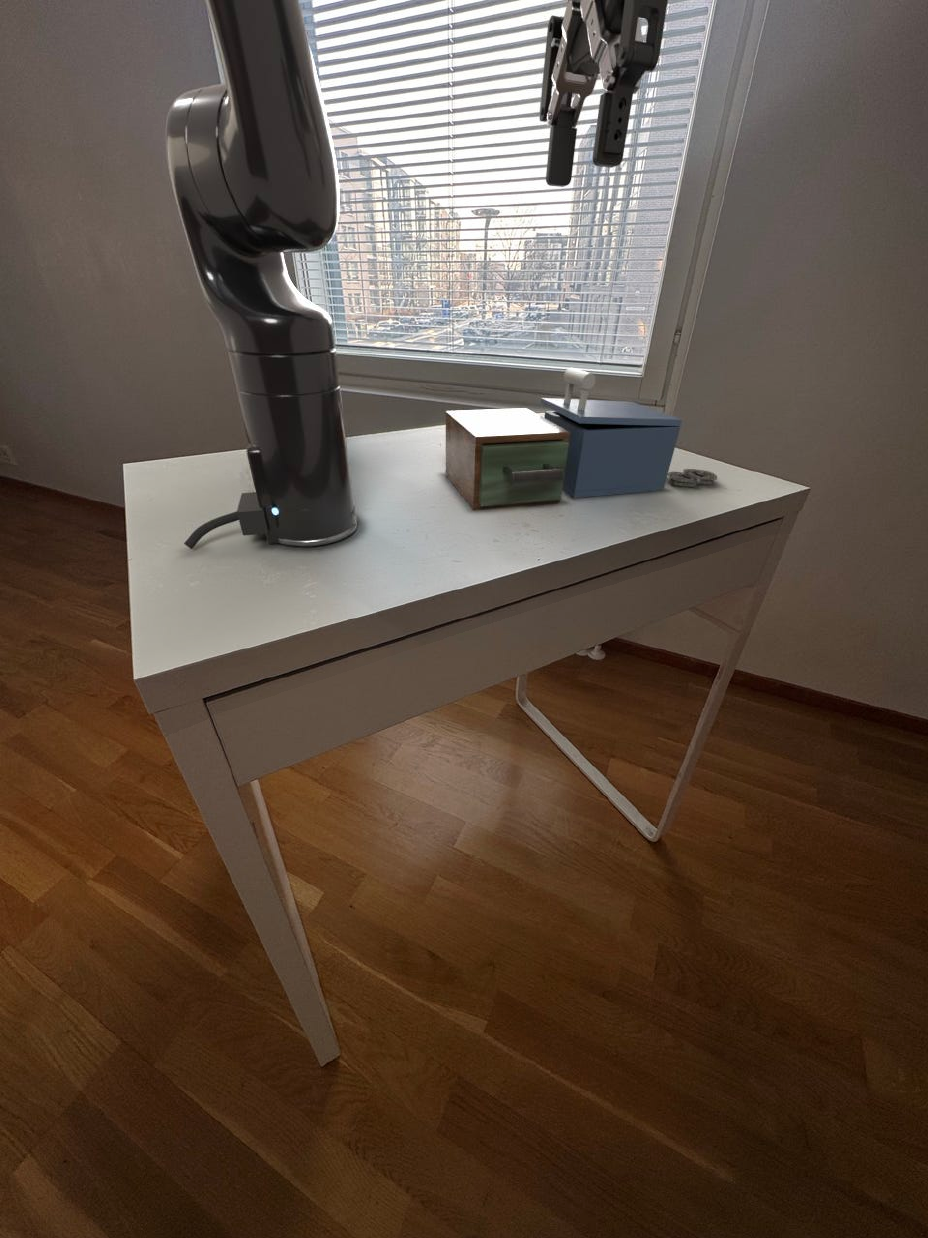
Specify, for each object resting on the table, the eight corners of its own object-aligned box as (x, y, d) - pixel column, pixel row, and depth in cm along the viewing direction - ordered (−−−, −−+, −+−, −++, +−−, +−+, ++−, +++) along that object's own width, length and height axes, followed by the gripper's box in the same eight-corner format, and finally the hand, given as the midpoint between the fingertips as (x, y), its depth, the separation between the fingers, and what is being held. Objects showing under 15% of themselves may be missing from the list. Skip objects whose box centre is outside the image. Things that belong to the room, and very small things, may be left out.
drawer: (575, 511, 56) (585, 452, 52) (491, 519, 53) (495, 458, 49) (523, 468, 68) (527, 418, 64) (453, 473, 66) (454, 421, 62)
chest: (573, 498, 62) (584, 431, 57) (538, 470, 71) (544, 411, 66) (663, 490, 65) (680, 426, 60) (618, 464, 74) (630, 407, 69)
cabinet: (560, 502, 60) (570, 431, 55) (473, 510, 57) (475, 436, 52) (520, 469, 71) (526, 407, 66) (445, 474, 68) (445, 410, 63)
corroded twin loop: (656, 480, 68) (658, 473, 67) (695, 473, 71) (697, 466, 70) (684, 491, 64) (686, 484, 64) (724, 483, 67) (726, 476, 67)
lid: (579, 423, 56) (589, 376, 53) (540, 403, 65) (546, 363, 62) (680, 426, 60) (694, 382, 57) (630, 407, 69) (640, 369, 66)
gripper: (753, -247, 26) (671, 163, 35) (614, -84, 37) (580, 193, 46) (632, -293, 24) (579, 153, 33) (525, -107, 35) (507, 187, 44)
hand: (579, 176), depth 40 cm, fingers open, 8 cm apart
